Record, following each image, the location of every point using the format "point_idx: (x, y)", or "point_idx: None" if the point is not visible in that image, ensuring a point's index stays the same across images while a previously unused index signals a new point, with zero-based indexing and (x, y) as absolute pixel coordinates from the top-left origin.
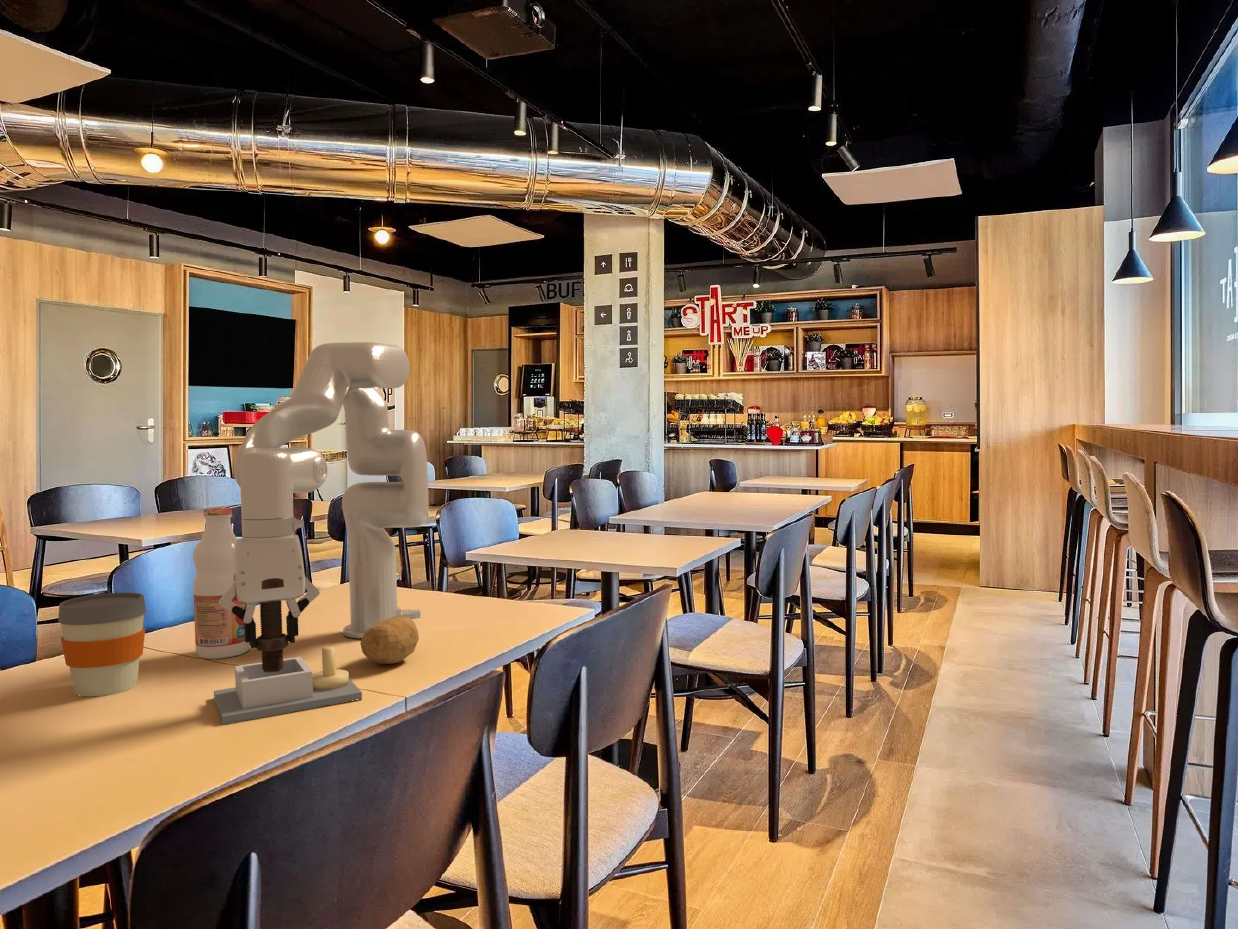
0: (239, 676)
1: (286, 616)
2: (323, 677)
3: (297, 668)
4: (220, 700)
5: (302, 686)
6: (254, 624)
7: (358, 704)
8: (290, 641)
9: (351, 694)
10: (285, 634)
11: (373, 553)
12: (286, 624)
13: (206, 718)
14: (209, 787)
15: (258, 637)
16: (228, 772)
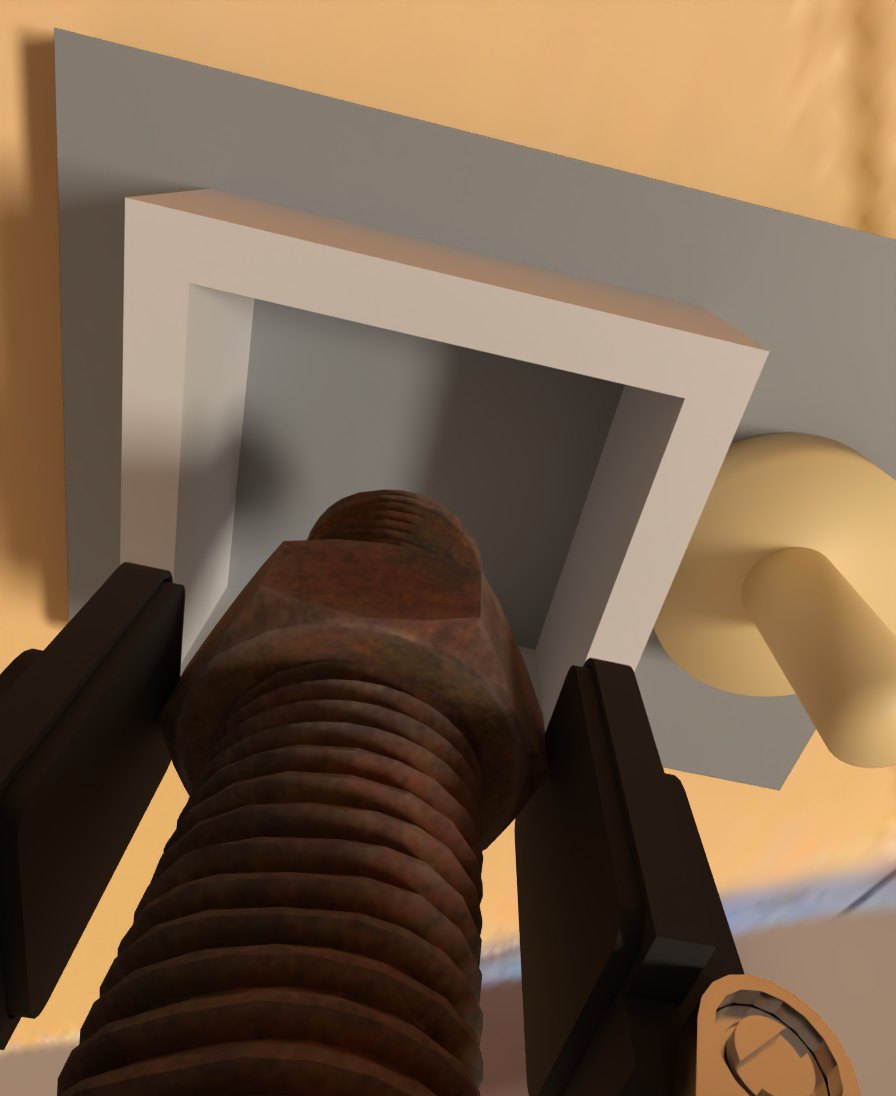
0: (120, 564)
1: (613, 941)
2: (725, 612)
3: (635, 472)
4: (82, 354)
5: None
6: (16, 1025)
7: (710, 795)
8: (518, 830)
9: (725, 778)
10: (515, 795)
11: None
12: (600, 796)
13: (17, 466)
14: (9, 1044)
15: (195, 711)
16: (66, 1005)
